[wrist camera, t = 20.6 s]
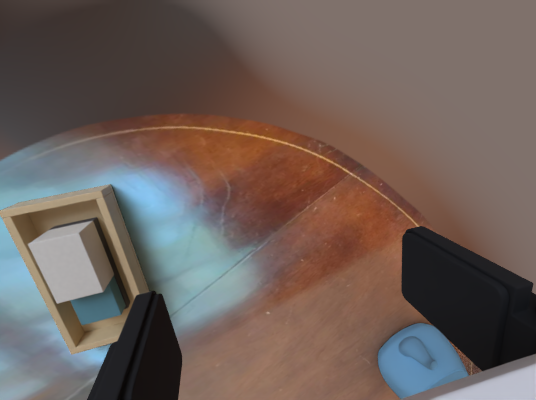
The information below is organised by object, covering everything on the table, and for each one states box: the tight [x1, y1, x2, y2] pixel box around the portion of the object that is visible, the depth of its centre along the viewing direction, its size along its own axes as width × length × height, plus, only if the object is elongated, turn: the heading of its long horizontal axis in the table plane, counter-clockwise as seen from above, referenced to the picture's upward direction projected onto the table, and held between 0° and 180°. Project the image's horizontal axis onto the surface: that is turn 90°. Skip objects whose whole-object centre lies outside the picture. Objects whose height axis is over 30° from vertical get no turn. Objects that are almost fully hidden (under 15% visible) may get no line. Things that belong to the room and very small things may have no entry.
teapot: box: [378, 323, 469, 399], centre depth 43 cm, size 13×11×18 cm
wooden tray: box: [0, 184, 149, 354], centre depth 32 cm, size 19×10×3 cm, turn 10°
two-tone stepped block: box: [28, 217, 130, 325], centre depth 30 cm, size 12×5×5 cm, turn 10°
